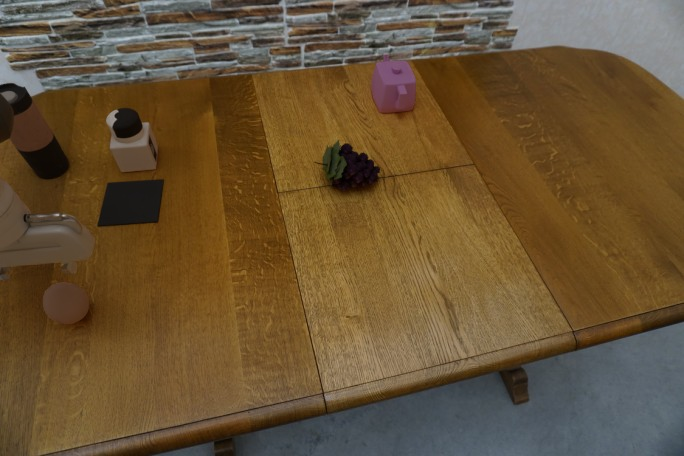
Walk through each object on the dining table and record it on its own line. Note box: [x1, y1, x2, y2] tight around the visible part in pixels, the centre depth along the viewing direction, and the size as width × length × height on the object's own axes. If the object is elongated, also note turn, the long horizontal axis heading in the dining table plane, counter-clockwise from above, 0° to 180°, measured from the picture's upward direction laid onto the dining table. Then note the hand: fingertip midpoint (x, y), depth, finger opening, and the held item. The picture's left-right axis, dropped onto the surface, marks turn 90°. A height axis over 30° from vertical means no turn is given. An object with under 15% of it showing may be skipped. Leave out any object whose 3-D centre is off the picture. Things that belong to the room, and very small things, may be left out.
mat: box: [96, 178, 165, 228], centre depth 99 cm, size 12×12×1 cm
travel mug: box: [0, 82, 70, 180], centre depth 96 cm, size 8×8×20 cm
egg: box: [42, 281, 90, 325], centre depth 80 cm, size 7×7×9 cm
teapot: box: [370, 54, 417, 114], centre depth 120 cm, size 18×10×10 cm, turn 11°
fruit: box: [313, 139, 381, 192], centre depth 102 cm, size 10×11×15 cm
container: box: [105, 107, 159, 173], centre depth 102 cm, size 8×8×13 cm
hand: (40, 273), depth 72 cm, fingers open, 8 cm apart
